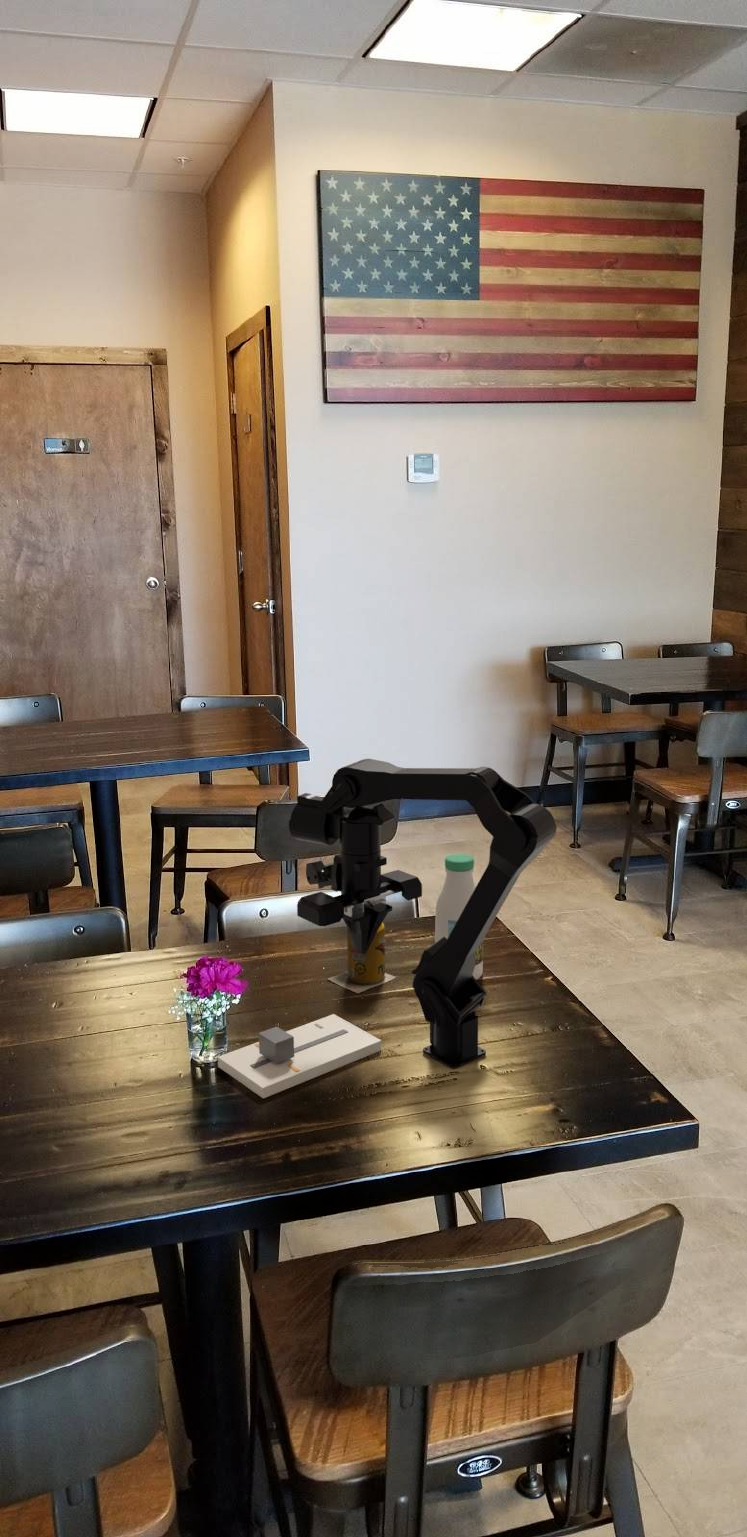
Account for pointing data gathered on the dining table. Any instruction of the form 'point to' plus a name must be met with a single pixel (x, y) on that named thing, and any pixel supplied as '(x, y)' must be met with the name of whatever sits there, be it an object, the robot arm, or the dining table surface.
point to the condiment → (364, 965)
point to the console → (301, 1056)
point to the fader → (276, 1045)
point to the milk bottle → (456, 900)
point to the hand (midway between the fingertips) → (362, 953)
